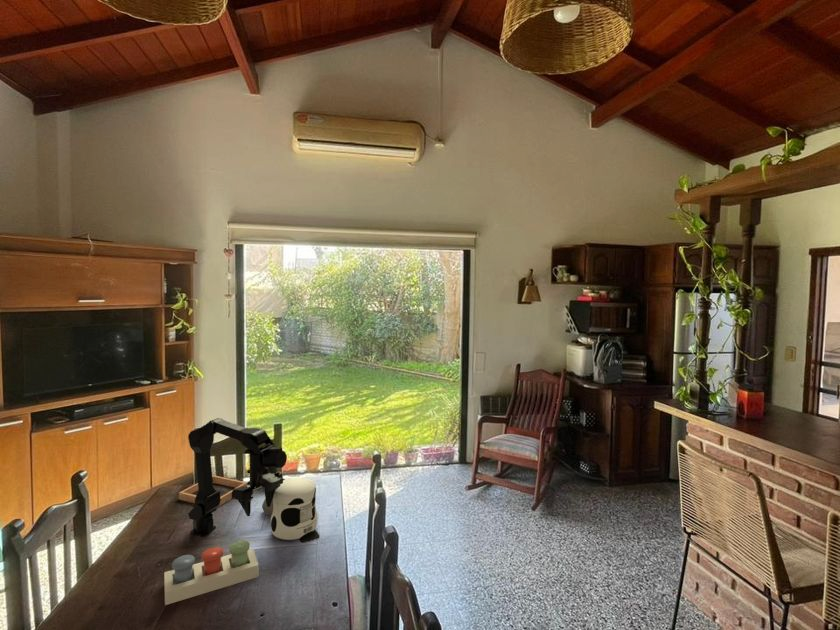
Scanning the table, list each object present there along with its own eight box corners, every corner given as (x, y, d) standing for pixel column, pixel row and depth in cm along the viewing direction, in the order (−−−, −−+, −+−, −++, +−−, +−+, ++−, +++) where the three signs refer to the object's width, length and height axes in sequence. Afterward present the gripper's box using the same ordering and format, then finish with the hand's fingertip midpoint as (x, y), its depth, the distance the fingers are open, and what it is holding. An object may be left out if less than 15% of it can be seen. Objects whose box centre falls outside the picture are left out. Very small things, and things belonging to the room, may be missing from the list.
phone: (307, 518, 174) (320, 536, 162) (307, 520, 174) (320, 538, 162) (288, 523, 170) (301, 542, 158) (288, 525, 170) (301, 544, 158)
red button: (200, 569, 137) (201, 550, 137) (221, 563, 140) (221, 545, 140) (202, 580, 132) (202, 561, 132) (224, 574, 135) (224, 555, 135)
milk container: (279, 518, 174) (280, 475, 172) (322, 520, 173) (323, 477, 172) (263, 544, 156) (263, 496, 155) (310, 546, 156) (311, 498, 155)
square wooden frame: (178, 499, 186) (178, 492, 186) (212, 481, 204) (212, 475, 204) (215, 508, 180) (215, 501, 180) (247, 488, 198) (247, 482, 198)
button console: (164, 584, 134) (164, 572, 134) (252, 559, 147) (252, 548, 147) (164, 605, 125) (164, 592, 125) (258, 576, 139) (258, 564, 139)
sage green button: (228, 561, 141) (228, 543, 141) (247, 556, 145) (247, 538, 144) (230, 572, 136) (231, 553, 136) (250, 566, 139) (251, 548, 139)
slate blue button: (172, 577, 133) (172, 558, 133) (193, 571, 136) (193, 552, 136) (172, 588, 128) (172, 569, 128) (195, 582, 131) (195, 563, 131)
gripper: (254, 475, 142) (254, 524, 140) (293, 461, 158) (294, 504, 157) (230, 472, 146) (230, 520, 145) (271, 458, 163) (272, 501, 162)
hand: (258, 511), depth 152 cm, fingers open, 9 cm apart
